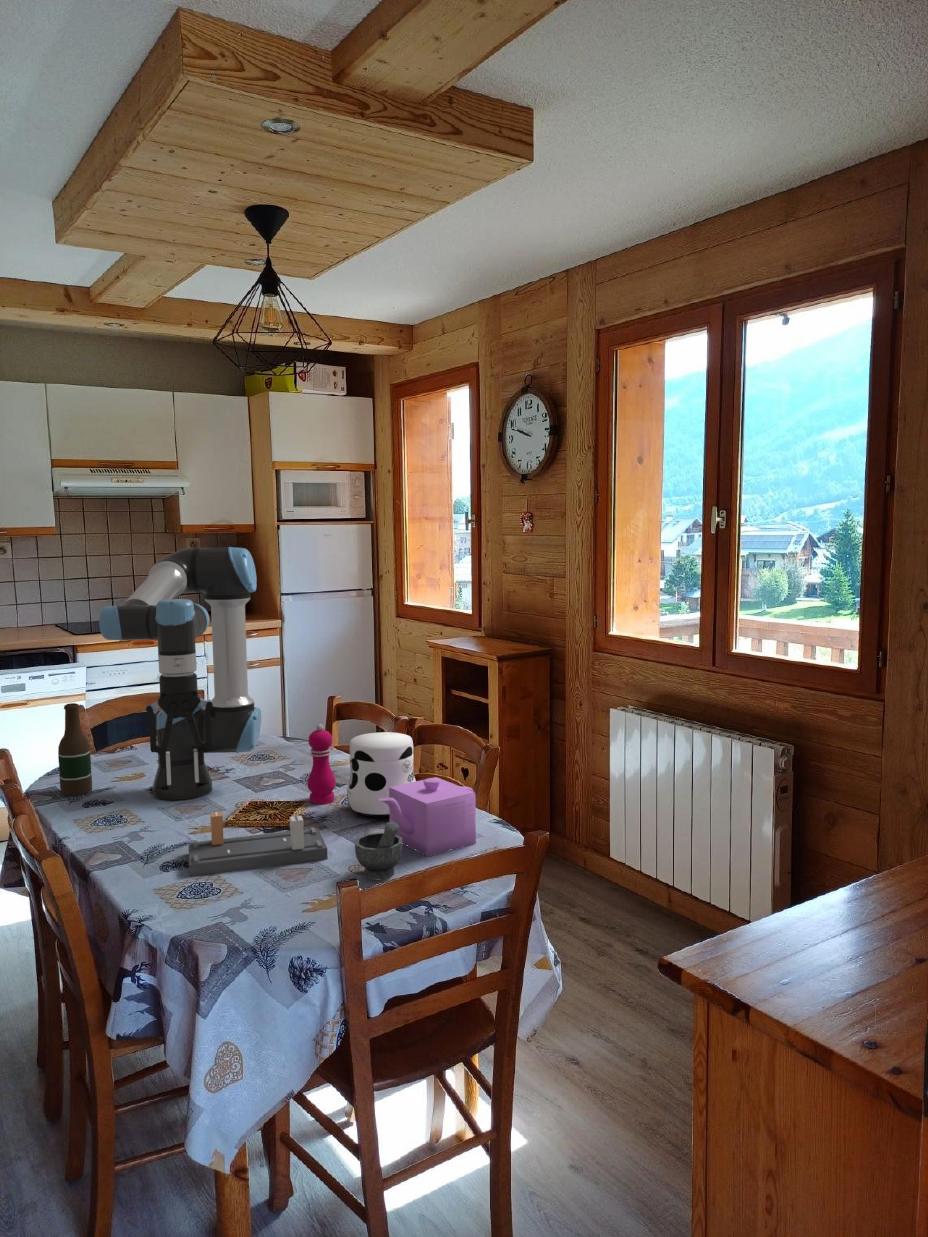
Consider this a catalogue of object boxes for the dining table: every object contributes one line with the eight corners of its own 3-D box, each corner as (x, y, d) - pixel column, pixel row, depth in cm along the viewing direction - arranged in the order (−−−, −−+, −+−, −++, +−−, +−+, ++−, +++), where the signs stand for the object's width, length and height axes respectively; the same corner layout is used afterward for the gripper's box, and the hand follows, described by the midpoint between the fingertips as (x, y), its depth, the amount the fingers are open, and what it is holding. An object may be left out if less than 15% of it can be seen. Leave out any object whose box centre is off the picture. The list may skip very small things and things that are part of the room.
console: (188, 853, 192) (188, 840, 192) (318, 838, 201) (317, 825, 200) (189, 876, 180) (189, 862, 180) (327, 858, 188) (327, 845, 188)
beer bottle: (54, 795, 235) (48, 706, 232) (76, 787, 242) (71, 700, 239) (76, 798, 232) (71, 708, 229) (98, 789, 239) (93, 702, 236)
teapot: (362, 844, 197) (360, 783, 195) (453, 821, 212) (453, 763, 210) (398, 865, 185) (397, 800, 183) (493, 839, 200) (492, 778, 198)
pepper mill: (330, 805, 224) (328, 728, 221) (303, 804, 225) (301, 727, 223) (340, 797, 231) (338, 721, 228) (313, 795, 232) (311, 720, 230)
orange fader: (211, 840, 193) (210, 812, 192) (223, 839, 193) (221, 811, 193) (212, 845, 190) (210, 816, 189) (223, 843, 190) (222, 815, 190)
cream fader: (290, 845, 189) (289, 816, 189) (302, 843, 190) (301, 815, 189) (292, 850, 186) (291, 820, 186) (304, 848, 187) (303, 819, 186)
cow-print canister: (432, 809, 220) (431, 738, 218) (379, 827, 207) (378, 752, 205) (385, 795, 232) (384, 727, 230) (333, 811, 219) (331, 740, 217)
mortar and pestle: (347, 872, 181) (345, 815, 180) (385, 860, 187) (384, 805, 186) (376, 889, 173) (375, 830, 171) (416, 877, 178) (415, 819, 177)
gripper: (131, 679, 179) (137, 791, 182) (223, 673, 185) (227, 782, 187) (133, 673, 186) (138, 781, 189) (221, 668, 192) (226, 773, 194)
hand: (183, 781), depth 188 cm, fingers open, 5 cm apart
